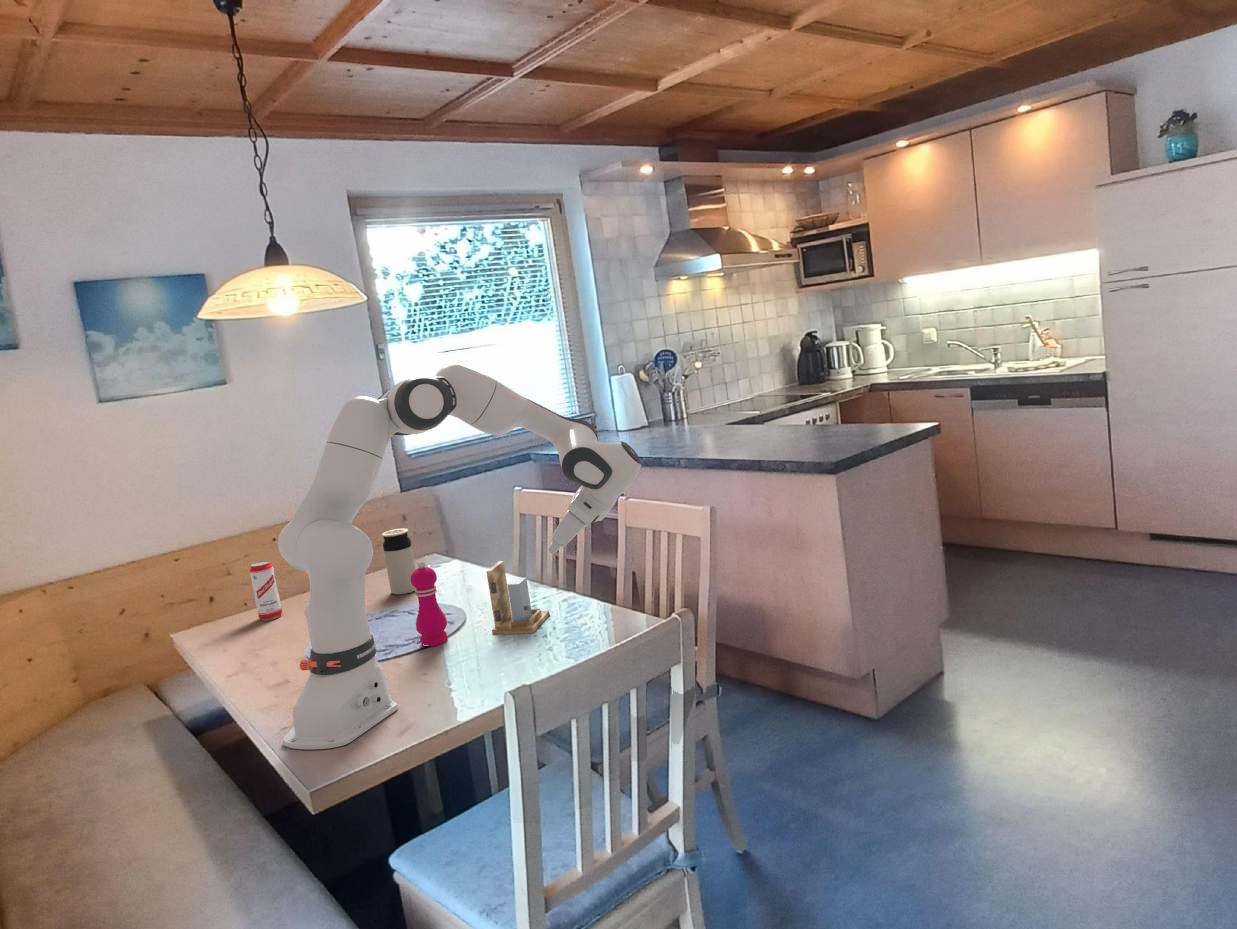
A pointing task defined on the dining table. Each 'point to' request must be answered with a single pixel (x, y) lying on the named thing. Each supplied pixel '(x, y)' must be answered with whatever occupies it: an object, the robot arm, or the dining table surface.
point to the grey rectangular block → (519, 599)
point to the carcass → (508, 605)
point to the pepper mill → (428, 607)
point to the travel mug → (399, 560)
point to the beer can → (265, 590)
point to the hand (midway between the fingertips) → (557, 546)
